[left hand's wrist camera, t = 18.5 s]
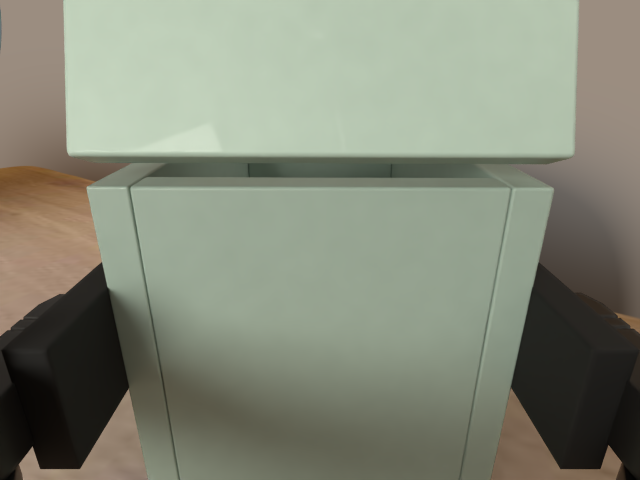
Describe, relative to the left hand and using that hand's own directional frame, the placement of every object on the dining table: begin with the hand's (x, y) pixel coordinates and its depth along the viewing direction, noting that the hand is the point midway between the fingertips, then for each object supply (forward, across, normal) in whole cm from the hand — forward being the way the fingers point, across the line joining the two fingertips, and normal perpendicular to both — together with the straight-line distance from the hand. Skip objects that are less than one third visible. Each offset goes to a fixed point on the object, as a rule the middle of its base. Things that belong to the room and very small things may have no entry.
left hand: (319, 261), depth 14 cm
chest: (+3, 0, -6) cm, 7 cm away
